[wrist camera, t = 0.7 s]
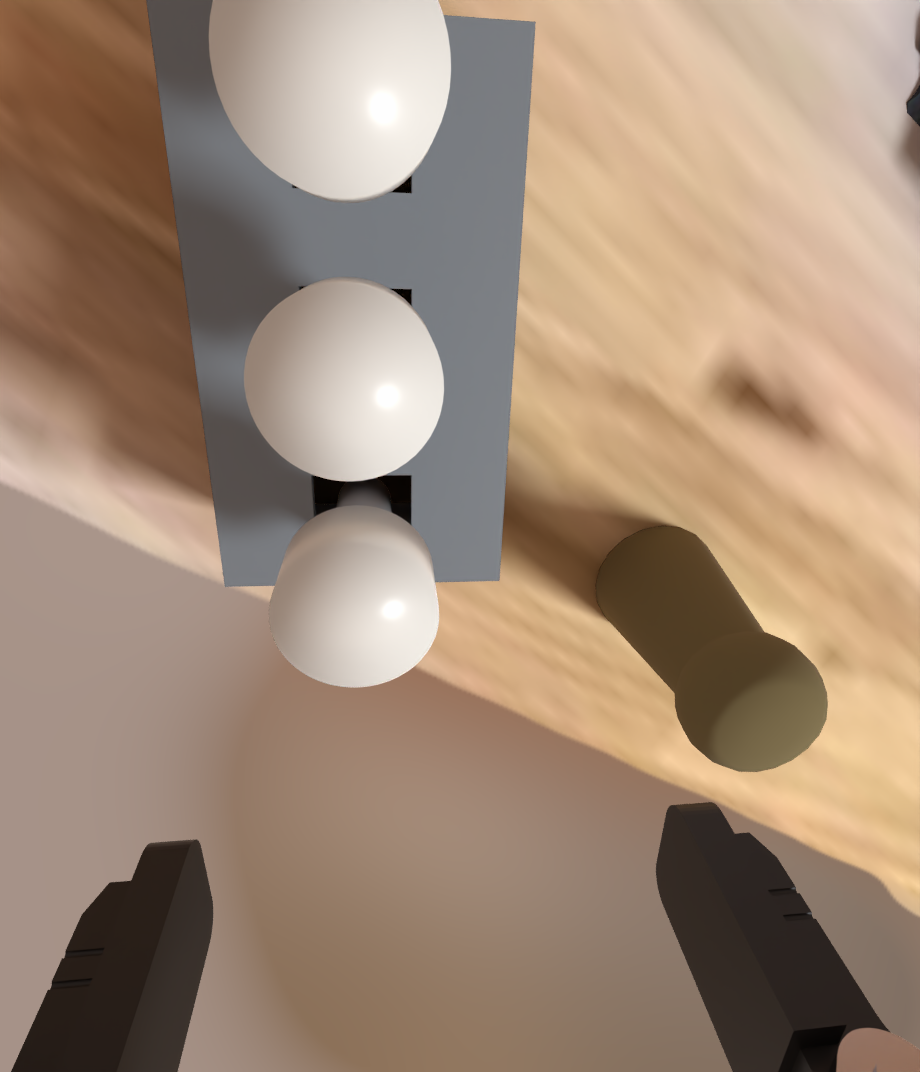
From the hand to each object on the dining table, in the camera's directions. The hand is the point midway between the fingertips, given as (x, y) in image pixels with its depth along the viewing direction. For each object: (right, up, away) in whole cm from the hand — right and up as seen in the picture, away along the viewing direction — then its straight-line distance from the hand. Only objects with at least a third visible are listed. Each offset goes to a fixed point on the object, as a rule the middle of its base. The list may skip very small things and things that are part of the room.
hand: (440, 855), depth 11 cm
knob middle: (-3, +12, +11) cm, 17 cm away
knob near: (-3, +18, +9) cm, 20 cm away
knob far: (-3, +7, +13) cm, 15 cm away
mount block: (-4, +14, +15) cm, 20 cm away
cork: (+10, +3, +21) cm, 24 cm away
